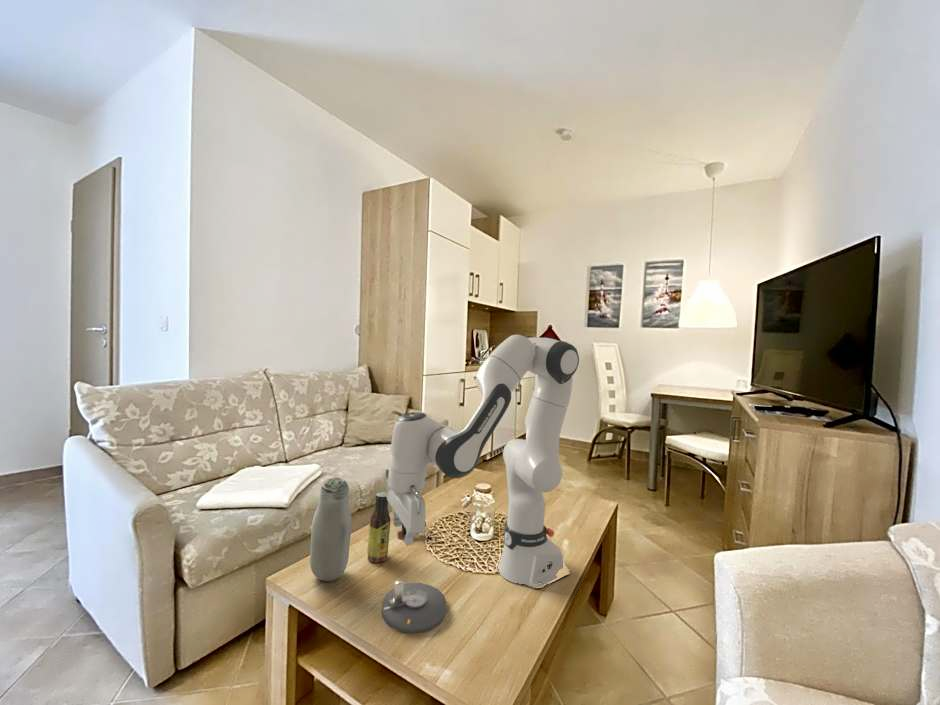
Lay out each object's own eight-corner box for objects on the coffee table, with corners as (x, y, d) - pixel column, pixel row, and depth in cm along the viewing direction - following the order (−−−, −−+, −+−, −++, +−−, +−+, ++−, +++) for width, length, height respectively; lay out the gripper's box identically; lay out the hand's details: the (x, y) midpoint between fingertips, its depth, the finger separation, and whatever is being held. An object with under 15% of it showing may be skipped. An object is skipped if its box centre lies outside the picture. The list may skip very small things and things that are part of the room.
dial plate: (432, 584, 113) (432, 576, 112) (455, 623, 98) (456, 614, 98) (375, 597, 105) (375, 589, 105) (391, 641, 91) (392, 631, 91)
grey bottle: (301, 581, 109) (307, 481, 108) (327, 562, 119) (333, 470, 118) (330, 592, 106) (337, 488, 105) (354, 572, 115) (361, 476, 114)
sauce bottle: (382, 565, 120) (387, 500, 119) (363, 561, 121) (367, 497, 120) (391, 554, 126) (395, 492, 125) (372, 550, 127) (377, 489, 127)
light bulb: (421, 591, 106) (423, 569, 105) (430, 605, 100) (431, 582, 100) (386, 599, 101) (388, 576, 101) (393, 615, 96) (394, 590, 96)
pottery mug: (388, 539, 136) (389, 513, 140) (400, 540, 144) (401, 515, 148) (421, 537, 133) (421, 510, 137) (432, 538, 141) (432, 513, 145)
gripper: (434, 494, 90) (429, 554, 91) (406, 464, 109) (402, 514, 109) (407, 497, 88) (402, 558, 88) (383, 466, 106) (379, 517, 106)
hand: (402, 534), depth 99 cm, fingers open, 8 cm apart
